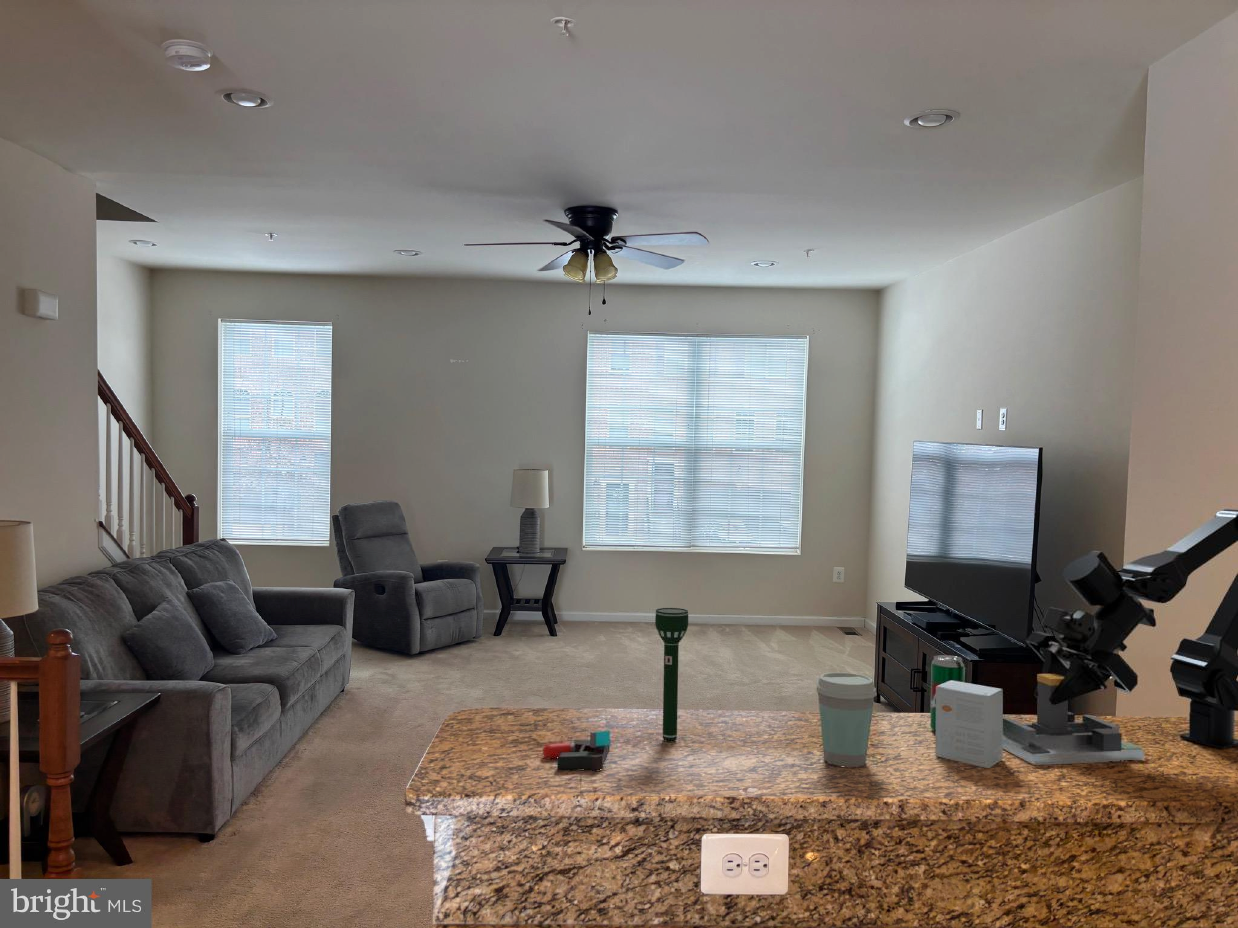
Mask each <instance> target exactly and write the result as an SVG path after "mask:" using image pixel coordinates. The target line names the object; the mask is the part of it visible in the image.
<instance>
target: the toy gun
mask: <svg viewBox="0 0 1238 928" xmlns="http://www.w3.org/2000/svg"><path fill="white" fill-rule="evenodd" d="M610 733H611V731H610V730H609V729H608V730H607V729H606V730H598V731H591V732H589V734H590V735H589V739H574V740H573V741H574V743H572V744H571V743H570V742H559V743H550V744H546V745H545V746H544V747H543V749H542V755H543V757H544V758H545V757H546V758H556V760H557V761H556V762H557V768H556V769H557V771H559V770H569V771H578V770H577V769H584V770H583V771H589V770H592V771H591V772H598V771H597V770H600V769H602V768H604V766H605V763H606V761H607V758H608V756H609V755H608V754H609V750H610V747H611V745H612V744H611V742H612V740H611V738H610V737H611V736H610V735H611V734H610ZM607 755H608V756H607ZM557 757H558V758H557ZM546 758H545V759H546ZM604 762H605V763H604ZM603 765H604V766H603ZM602 770H603V769H602ZM600 771H601V770H600Z"/></svg>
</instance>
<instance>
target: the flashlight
mask: <svg viewBox="0 0 1238 928" xmlns="http://www.w3.org/2000/svg"><path fill="white" fill-rule="evenodd" d="M654 623H655V628H656V631H657V634H658V635H659V638H660V639H661V640H662V642H663V645H664V646H663V688H662V689H663V693H662V695H663V696H662V697H663V698H662V699H663V700H662V740H663V739H664V740H666V741H670V742H669V743H672V742H671V741H674V742H675V740H676V741H677V738H678V702H679V701H678V697H679V694H678V691H679V646H680V645H679V643H680V642H681V640H683V638H684V636H685V635H686V633H687V631H688V627H689V612H688V610H687V609H685V608H677V607H661V608H657V609H656V610H655V622H654ZM664 740H663V741H664ZM666 741H665V742H666Z"/></svg>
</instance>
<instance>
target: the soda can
mask: <svg viewBox="0 0 1238 928" xmlns="http://www.w3.org/2000/svg"><path fill="white" fill-rule="evenodd" d="M930 664H931V665H930V715H929V716H930V717H929V718H930V721H929V724H930V725H929V726H930V728H931V730H932V731H933V732H934V733H936V686H938V685H941V684H943V683H945V682H948V681H951V680H952V681H958V682H964V683H965V673H966V672H965V671H966V669H965V664H964V663H963V659H962V657H960V656H955V655H950V654H949V655H947V654H940V655H934V656H933V659H932V662H931V663H930Z"/></svg>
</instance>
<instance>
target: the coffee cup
mask: <svg viewBox="0 0 1238 928" xmlns="http://www.w3.org/2000/svg"><path fill="white" fill-rule="evenodd" d="M815 691H816V692H817V696H818V708H819V709H818V711H819V717H820V730H821V738H822V739H821V740H822V753H823V760H824V759H825V760H826V761H827V762H829V763H831V764H834V765H838V766H837V767H839V766H844V767H843V768H846V767H856V768H860V767H859V766H861V767H863V766H864V765H866V763H867V754H868V748H869V747H868V746H869V740H870V732H871V725H872V717H873V709H874V703H875V697H876V696H877V689H876V687H875V685H874V681H873V679H872V678H871V677H869V676H867V675H863V674H859V673H851V672H842V671H841V672H838V671H836V672H835V671H833V672H827V673H826V672H825V673H822V674H820V675H819V679H818V682H817V683H816V688H815ZM825 760H824V761H825ZM826 761H825V762H826ZM827 762H826V763H827ZM829 763H828V764H829ZM831 764H830V765H831ZM834 765H833V766H834ZM862 765H863V766H862Z"/></svg>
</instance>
